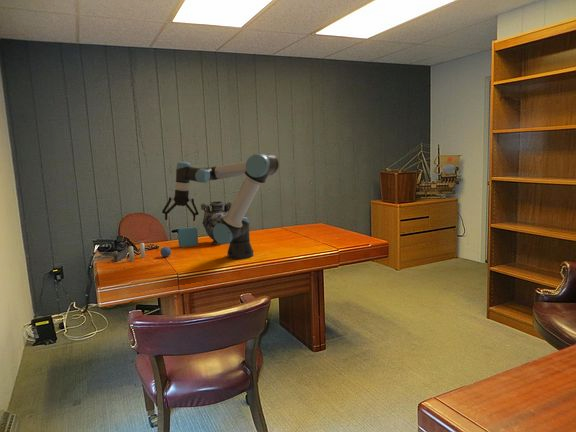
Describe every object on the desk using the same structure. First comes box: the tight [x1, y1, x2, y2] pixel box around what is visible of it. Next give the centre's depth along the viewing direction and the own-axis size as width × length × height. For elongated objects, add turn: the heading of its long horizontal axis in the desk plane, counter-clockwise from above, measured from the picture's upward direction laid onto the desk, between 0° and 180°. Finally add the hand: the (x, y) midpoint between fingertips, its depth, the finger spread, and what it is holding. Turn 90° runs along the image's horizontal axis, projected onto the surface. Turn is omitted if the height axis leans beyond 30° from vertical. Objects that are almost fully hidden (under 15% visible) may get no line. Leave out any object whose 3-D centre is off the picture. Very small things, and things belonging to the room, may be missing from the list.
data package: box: [177, 226, 199, 248], centre depth 281 cm, size 12×4×12 cm, turn 119°
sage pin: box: [128, 245, 135, 263], centre depth 244 cm, size 2×2×8 cm
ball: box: [160, 246, 172, 258], centre depth 252 cm, size 6×6×6 cm
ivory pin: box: [139, 242, 146, 259], centre depth 253 cm, size 2×2×8 cm
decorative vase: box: [200, 201, 233, 245], centre depth 286 cm, size 21×19×28 cm
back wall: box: [113, 247, 129, 263], centre depth 254 cm, size 2×20×4 cm, turn 177°
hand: (179, 226), depth 244 cm, fingers open, 13 cm apart
